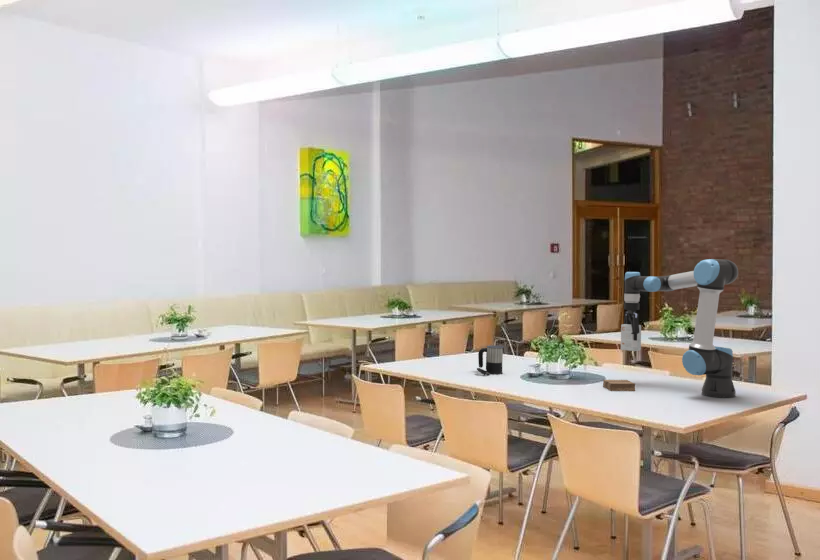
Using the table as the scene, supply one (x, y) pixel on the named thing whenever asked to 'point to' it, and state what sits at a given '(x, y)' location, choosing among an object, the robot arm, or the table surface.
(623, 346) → the small box
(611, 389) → the walnut block
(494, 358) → the milk frother
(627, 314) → the robot arm
